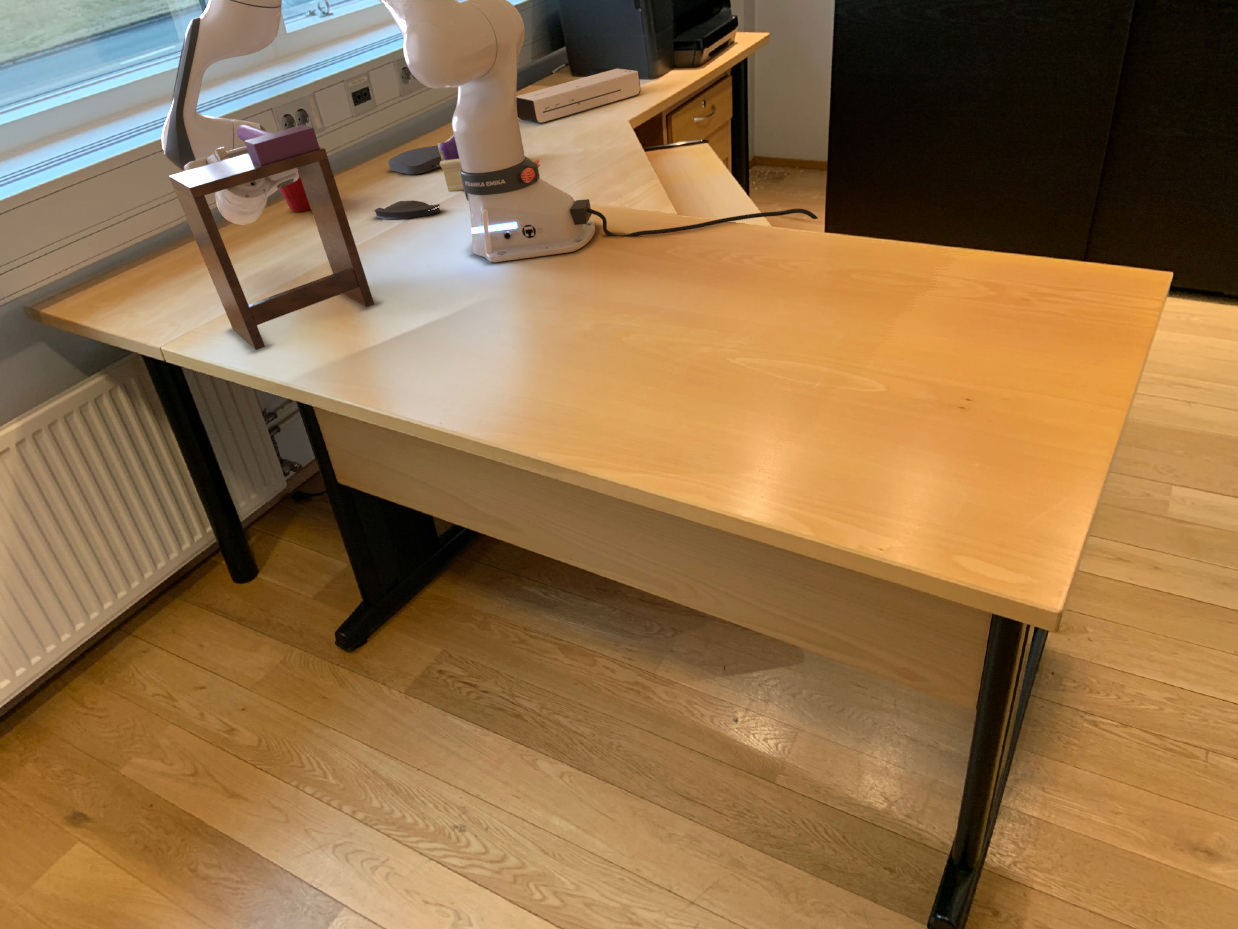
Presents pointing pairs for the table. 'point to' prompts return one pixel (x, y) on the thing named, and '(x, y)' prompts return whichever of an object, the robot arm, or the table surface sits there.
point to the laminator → (578, 95)
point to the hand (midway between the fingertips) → (250, 144)
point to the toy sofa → (450, 164)
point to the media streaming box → (416, 160)
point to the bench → (327, 219)
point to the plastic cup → (295, 196)
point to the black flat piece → (406, 210)
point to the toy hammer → (277, 143)
